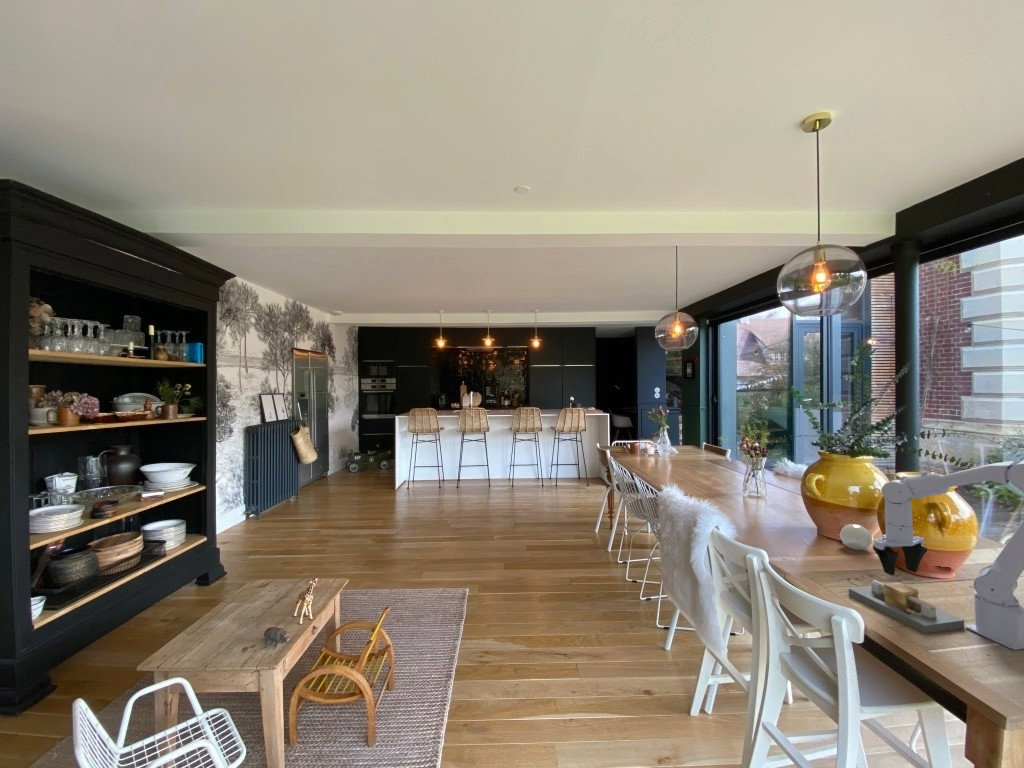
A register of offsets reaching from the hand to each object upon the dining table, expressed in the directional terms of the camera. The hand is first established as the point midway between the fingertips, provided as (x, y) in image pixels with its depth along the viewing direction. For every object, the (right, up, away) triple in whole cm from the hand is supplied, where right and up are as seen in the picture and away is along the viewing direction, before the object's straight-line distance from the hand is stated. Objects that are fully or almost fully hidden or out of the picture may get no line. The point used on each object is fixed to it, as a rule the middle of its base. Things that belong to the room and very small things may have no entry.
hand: (900, 572), depth 118 cm
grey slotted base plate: (-2, -9, -2) cm, 10 cm away
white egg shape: (+22, -10, +43) cm, 49 cm away
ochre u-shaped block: (-2, -8, -2) cm, 9 cm away
